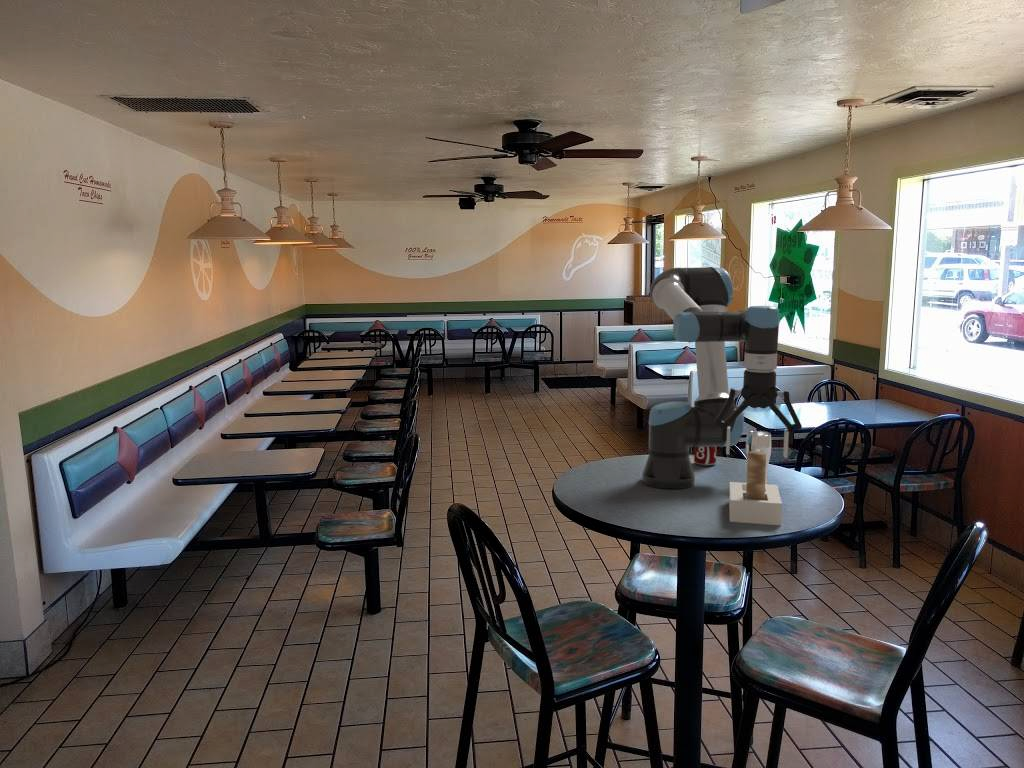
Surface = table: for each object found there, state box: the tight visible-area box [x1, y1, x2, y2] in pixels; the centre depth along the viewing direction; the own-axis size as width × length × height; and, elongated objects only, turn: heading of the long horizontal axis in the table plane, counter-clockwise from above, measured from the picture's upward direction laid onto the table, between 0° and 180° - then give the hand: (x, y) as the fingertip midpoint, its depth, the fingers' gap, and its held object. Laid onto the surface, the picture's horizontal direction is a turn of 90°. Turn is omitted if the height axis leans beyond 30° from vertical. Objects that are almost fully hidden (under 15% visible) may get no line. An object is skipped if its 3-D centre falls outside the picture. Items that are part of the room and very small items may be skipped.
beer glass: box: [745, 430, 772, 484], centre depth 218 cm, size 7×7×15 cm
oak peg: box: [746, 451, 766, 500], centre depth 188 cm, size 4×4×15 cm
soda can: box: [693, 446, 717, 467], centre depth 241 cm, size 7×7×12 cm
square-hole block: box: [728, 481, 783, 526], centre depth 192 cm, size 12×17×6 cm
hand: (756, 454), depth 187 cm, fingers open, 13 cm apart
